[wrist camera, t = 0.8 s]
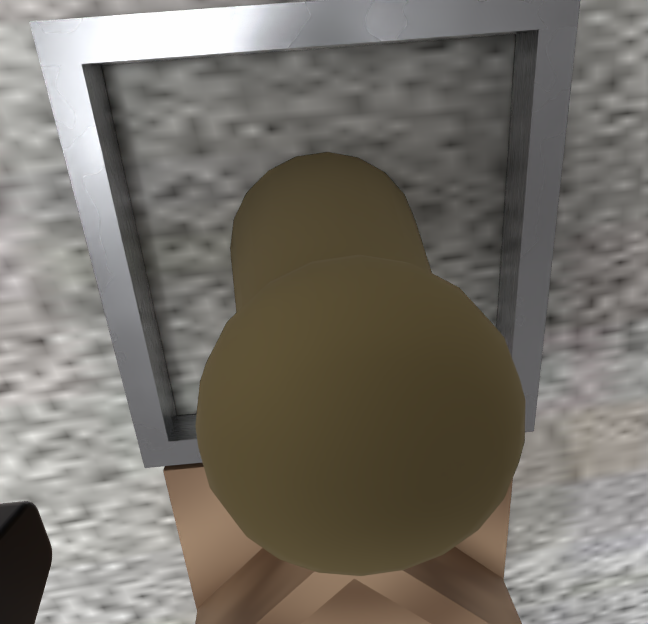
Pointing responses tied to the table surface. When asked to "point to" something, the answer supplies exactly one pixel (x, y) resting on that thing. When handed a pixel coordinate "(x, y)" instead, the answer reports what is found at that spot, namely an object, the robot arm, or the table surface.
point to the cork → (352, 381)
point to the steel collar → (289, 35)
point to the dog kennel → (331, 589)
